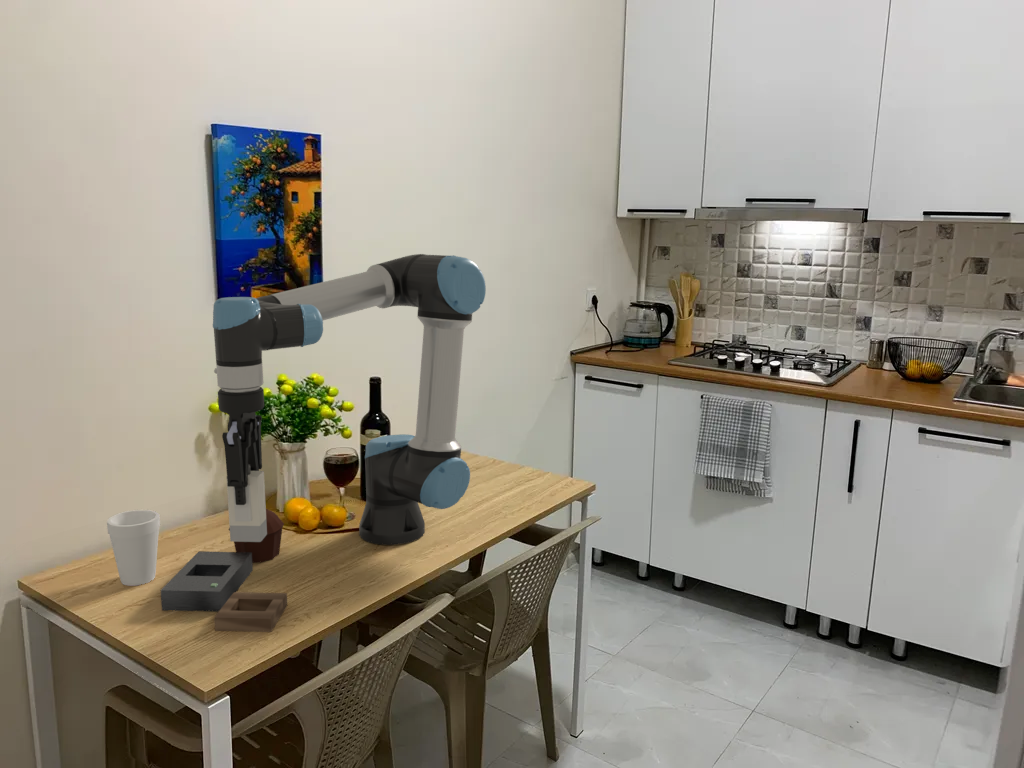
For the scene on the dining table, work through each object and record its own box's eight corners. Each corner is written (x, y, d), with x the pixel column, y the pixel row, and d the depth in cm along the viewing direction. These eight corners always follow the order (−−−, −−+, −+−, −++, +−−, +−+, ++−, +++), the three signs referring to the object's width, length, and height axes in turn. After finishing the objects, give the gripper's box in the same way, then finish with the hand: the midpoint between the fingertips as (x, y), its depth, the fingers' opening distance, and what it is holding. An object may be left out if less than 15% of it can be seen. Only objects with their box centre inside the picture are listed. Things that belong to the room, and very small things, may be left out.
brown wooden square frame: (234, 604, 153) (233, 592, 153) (287, 605, 153) (286, 593, 153) (214, 630, 143) (214, 617, 143) (271, 631, 143) (270, 618, 143)
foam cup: (160, 586, 160) (155, 524, 158) (108, 591, 157) (103, 528, 155) (165, 566, 169) (161, 507, 166) (117, 571, 166) (112, 511, 164)
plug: (237, 533, 147) (233, 462, 144) (267, 534, 147) (263, 462, 144) (230, 541, 144) (225, 468, 141) (260, 541, 144) (256, 468, 141)
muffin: (238, 544, 181) (235, 502, 179) (288, 543, 182) (287, 501, 180) (224, 567, 169) (222, 521, 167) (278, 565, 171) (277, 520, 169)
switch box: (199, 569, 168) (198, 550, 167) (252, 570, 168) (251, 551, 167) (161, 610, 150) (160, 589, 150) (220, 611, 150) (219, 590, 149)
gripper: (235, 377, 148) (242, 499, 153) (200, 397, 132) (209, 533, 136) (276, 378, 148) (282, 500, 153) (246, 398, 132) (253, 534, 136)
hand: (247, 515), depth 144 cm, fingers closed on plug, 4 cm apart
